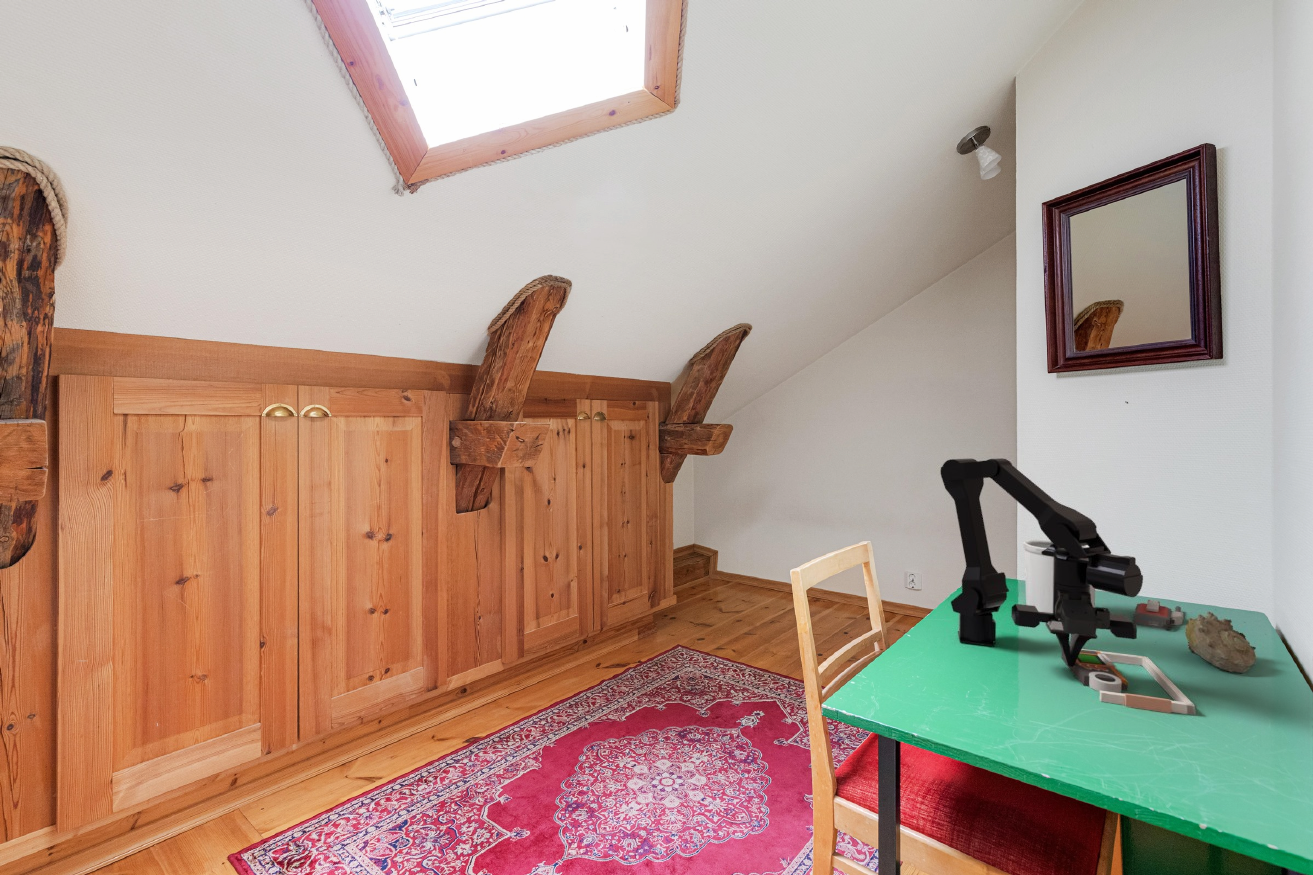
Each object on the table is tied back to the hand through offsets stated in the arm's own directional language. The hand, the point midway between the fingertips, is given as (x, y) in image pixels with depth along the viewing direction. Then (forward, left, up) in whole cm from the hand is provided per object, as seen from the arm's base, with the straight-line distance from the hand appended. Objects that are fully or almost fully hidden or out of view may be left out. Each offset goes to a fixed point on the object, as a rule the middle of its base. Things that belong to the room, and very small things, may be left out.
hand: (1070, 665), depth 114 cm
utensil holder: (+5, +39, -2) cm, 39 cm away
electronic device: (+4, +1, -2) cm, 4 cm away
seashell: (+28, +18, -2) cm, 34 cm away
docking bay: (+9, 0, -2) cm, 9 cm away
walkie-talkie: (+27, +46, -2) cm, 53 cm away
